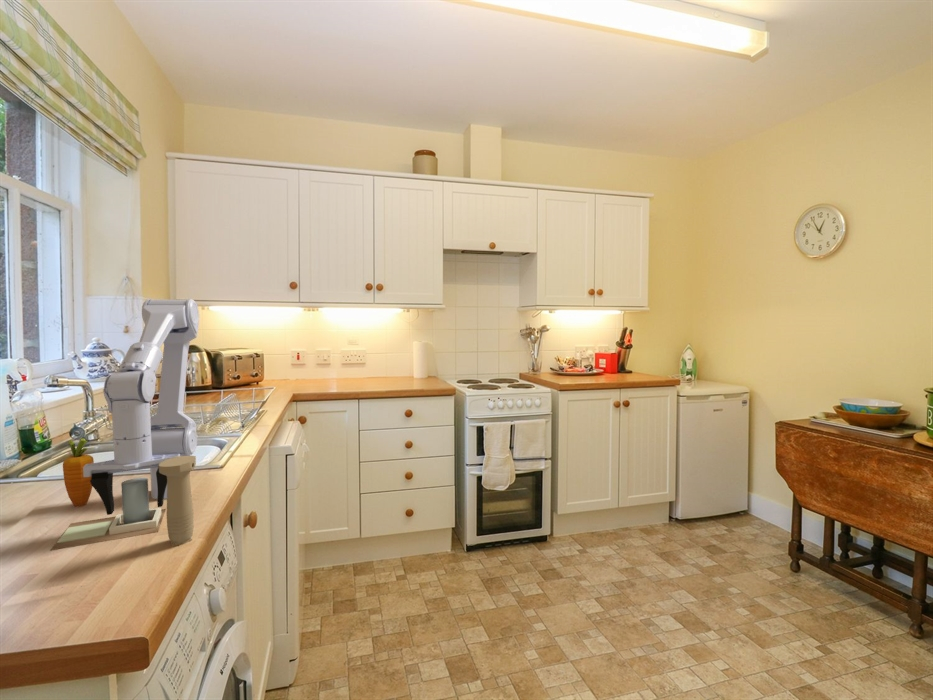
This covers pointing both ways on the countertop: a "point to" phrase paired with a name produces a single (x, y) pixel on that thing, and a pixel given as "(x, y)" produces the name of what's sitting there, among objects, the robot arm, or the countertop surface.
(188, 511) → the handle
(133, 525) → the cream square frame
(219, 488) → the countertop surface
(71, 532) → the pad
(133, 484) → the grey-blue cylinder
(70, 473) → the carrot
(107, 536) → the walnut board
